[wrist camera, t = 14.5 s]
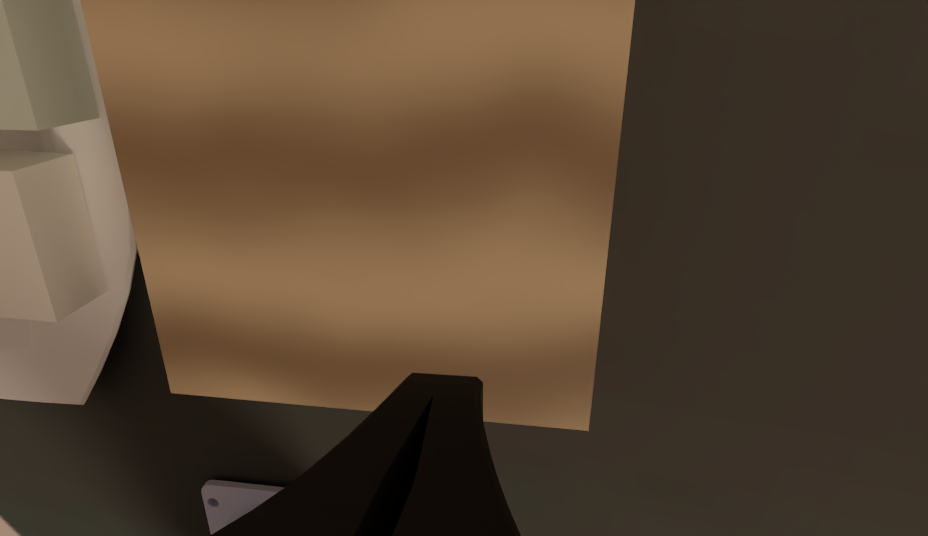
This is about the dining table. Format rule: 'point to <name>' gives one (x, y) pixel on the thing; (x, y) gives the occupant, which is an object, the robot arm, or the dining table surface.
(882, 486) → the dining table surface
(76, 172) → the white tile
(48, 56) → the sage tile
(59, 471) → the dining table surface
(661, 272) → the dining table surface
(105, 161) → the pale beige plate
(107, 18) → the oak board
